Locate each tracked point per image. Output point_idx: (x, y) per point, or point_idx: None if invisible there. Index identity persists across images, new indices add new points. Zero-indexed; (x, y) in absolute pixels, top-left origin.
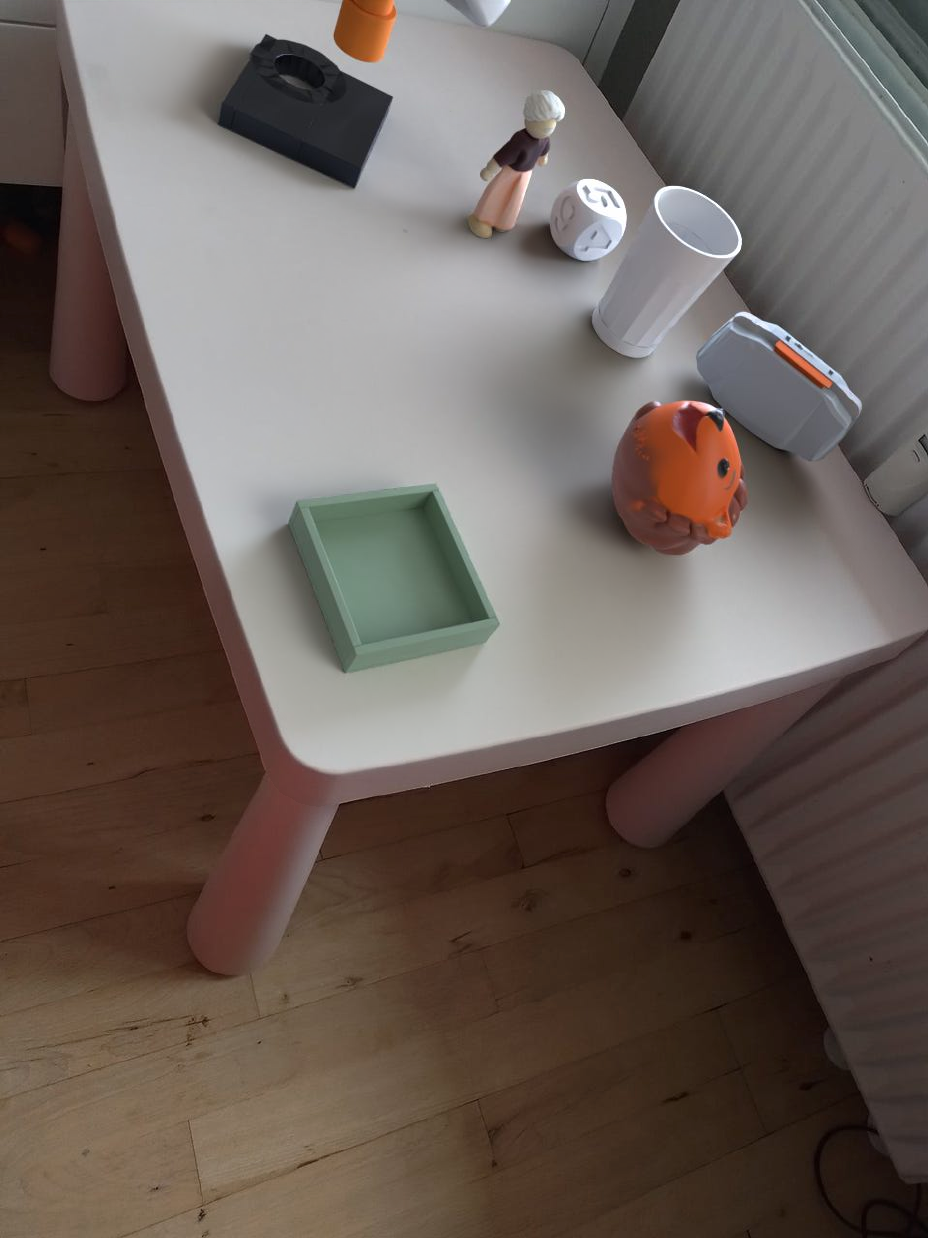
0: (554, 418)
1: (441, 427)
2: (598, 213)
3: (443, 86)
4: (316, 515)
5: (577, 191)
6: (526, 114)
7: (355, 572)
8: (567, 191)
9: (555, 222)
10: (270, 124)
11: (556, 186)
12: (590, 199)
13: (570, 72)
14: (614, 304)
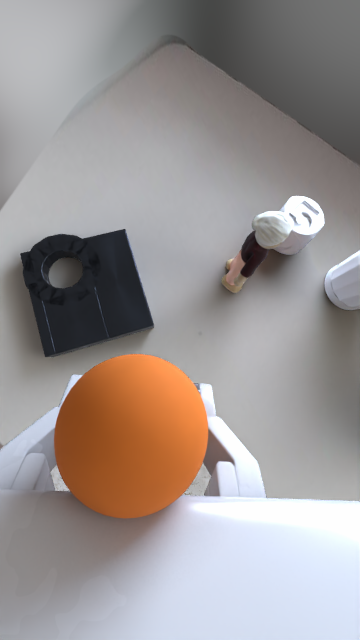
0: (355, 402)
1: (311, 475)
2: (311, 234)
3: (135, 167)
4: None
5: None
6: (261, 243)
7: None
8: None
9: None
10: (83, 344)
11: (245, 193)
12: (299, 224)
13: (189, 64)
14: (354, 299)
